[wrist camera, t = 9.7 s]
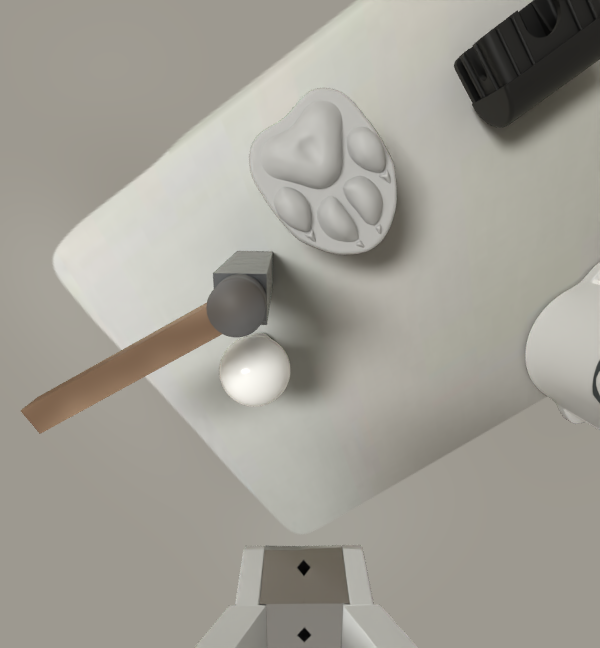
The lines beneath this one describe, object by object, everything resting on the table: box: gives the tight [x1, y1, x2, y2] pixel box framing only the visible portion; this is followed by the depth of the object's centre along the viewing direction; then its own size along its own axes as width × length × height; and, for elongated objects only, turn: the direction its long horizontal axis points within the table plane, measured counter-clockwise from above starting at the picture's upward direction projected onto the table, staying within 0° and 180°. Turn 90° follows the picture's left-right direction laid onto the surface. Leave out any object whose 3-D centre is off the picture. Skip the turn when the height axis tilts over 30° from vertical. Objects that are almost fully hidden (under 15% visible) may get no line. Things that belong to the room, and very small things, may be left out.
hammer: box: [21, 274, 267, 433], centre depth 27 cm, size 4×18×3 cm, turn 119°
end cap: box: [454, 0, 600, 127], centre depth 34 cm, size 10×7×7 cm
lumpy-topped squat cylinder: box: [249, 88, 397, 255], centre depth 36 cm, size 10×13×9 cm
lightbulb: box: [219, 333, 291, 407], centre depth 39 cm, size 6×6×11 cm
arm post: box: [213, 251, 273, 325], centre depth 35 cm, size 4×4×14 cm
